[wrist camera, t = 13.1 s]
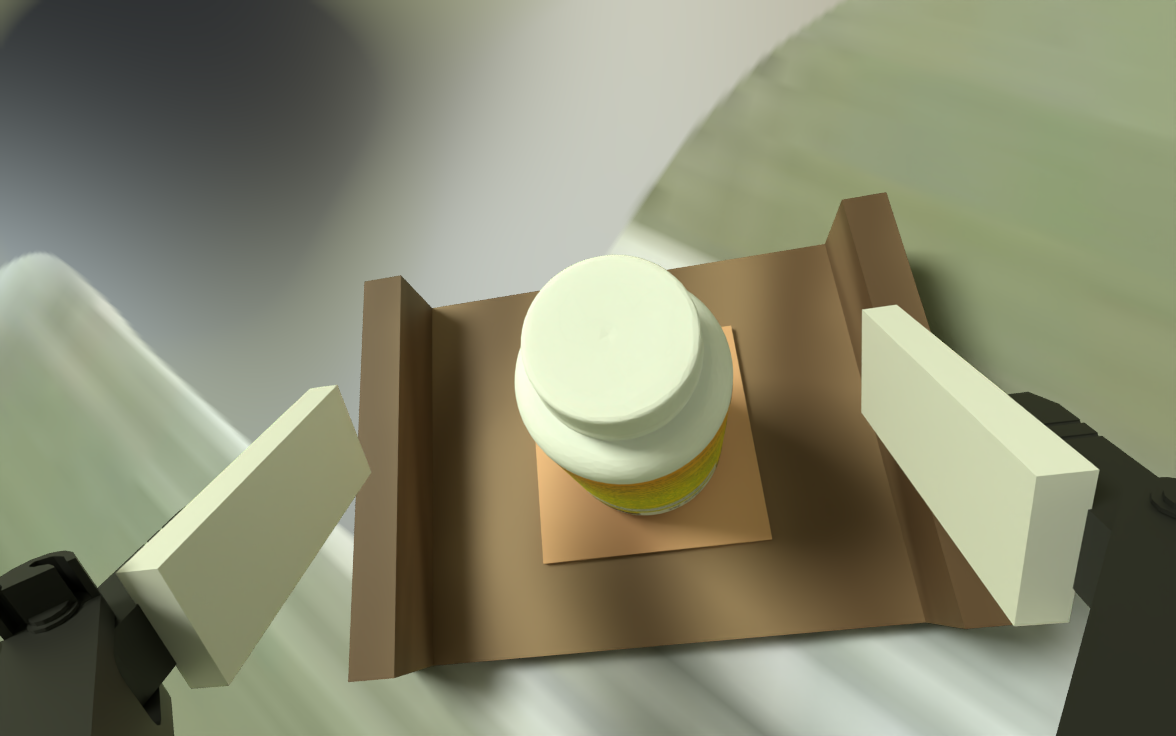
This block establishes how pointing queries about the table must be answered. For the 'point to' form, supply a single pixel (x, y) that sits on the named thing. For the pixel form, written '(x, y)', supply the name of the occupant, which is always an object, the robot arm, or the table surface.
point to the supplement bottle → (625, 383)
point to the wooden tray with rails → (645, 542)
